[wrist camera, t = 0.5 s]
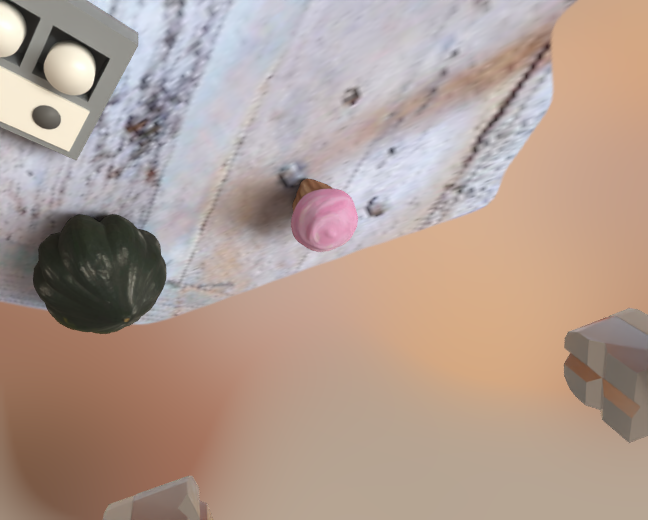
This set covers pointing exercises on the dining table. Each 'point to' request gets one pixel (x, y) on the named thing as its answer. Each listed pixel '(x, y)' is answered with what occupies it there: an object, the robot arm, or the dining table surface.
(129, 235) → the squash
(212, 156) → the dining table surface
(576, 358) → the robot arm
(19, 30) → the button
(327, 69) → the dining table surface
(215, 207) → the dining table surface
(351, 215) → the cupcake
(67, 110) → the button board
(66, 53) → the button
